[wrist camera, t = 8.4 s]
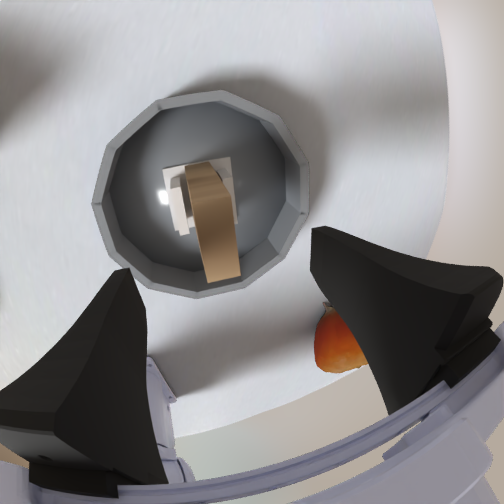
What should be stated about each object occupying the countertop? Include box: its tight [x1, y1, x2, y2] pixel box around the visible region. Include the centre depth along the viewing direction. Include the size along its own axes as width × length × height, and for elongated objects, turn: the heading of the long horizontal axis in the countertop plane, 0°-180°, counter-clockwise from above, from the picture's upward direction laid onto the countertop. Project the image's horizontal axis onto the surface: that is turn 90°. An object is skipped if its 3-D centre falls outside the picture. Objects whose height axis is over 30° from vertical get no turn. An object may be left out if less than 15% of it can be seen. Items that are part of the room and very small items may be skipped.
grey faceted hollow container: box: [91, 90, 309, 299], centre depth 17 cm, size 13×13×3 cm
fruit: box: [314, 303, 368, 373], centre depth 27 cm, size 8×8×8 cm
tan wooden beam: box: [184, 162, 241, 283], centre depth 15 cm, size 4×2×7 cm, turn 3°
